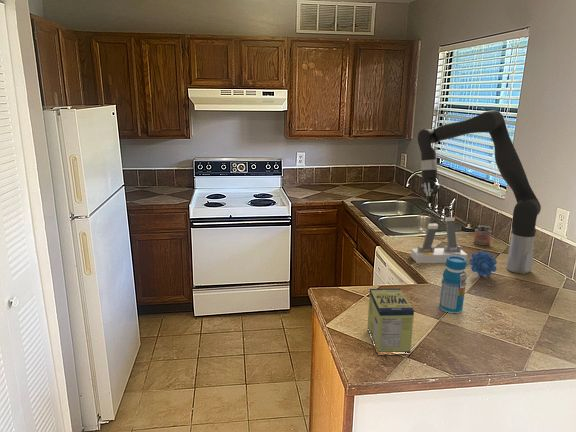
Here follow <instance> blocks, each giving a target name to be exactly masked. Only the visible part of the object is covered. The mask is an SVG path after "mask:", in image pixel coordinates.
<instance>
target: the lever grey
mask: <svg viewBox="0 0 576 432" xmlns="http://www.w3.org/2000/svg"><path fill="white" fill-rule="evenodd" d="M444 218H445V219H444V220H445V221H444V222H445V224H446V225H445V226H446V241H447V246H448V251H458V248H457V237H456V226H455V225H456V224H455V223H456V218H455V216H452V217H451V216H448V217H447V216H446V217H444Z"/></svg>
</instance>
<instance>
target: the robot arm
mask: <svg viewBox="0 0 576 432" xmlns="http://www.w3.org/2000/svg"><path fill="white" fill-rule="evenodd" d="M475 133H476V134H478V133H479V134H481V133H489V135H490V138H491V140H492V142H493V146H494V148H493V150H494V160H495V164H496V166H497V170H498V172H499V173H500V176H501V177H502V179H503V180H504V181H505V183H506V184H507V185H508V187H509V188H510V189H511V190H512V192H513V195H514V198H515V200H516V204H515V206H514V208H513V213H512V218H511V219H512V220H511V235H510V241H509V247H508V253H507V254H508V255H507V262H506V268H505V269H507V270H508V271H509V272H512V273H516V274H521V275H526V274H528V273H531V272H532V267H533V262H534V257H535V251H533V249H534V243H535V240H536V239H535V238H536V232H537V229H536V225H537V220H538V218H537V217H538V215H540V212H541V210H542V209H541V208H542V207H541V203H540V201H539V199H538V198H537V196H536V194H535V192H534V191H533V189H532V187H531V184H530V183H529V180H528V177H527V174H526V172H525V168H524V166H523V164H522V161H521V160H520V157H519V155H518V152H517V150H516V148H515V146H514V143H513V141H512V139H511V137H510V134H509V131H508V128H507V124H506V121H505V118H504V116H503V114H502V113H501V112H500V111H498V110H495V109H492V110H487V111H484V112H482V113H480V114H477V115H476V116H473V117H471V118H468V119H466V120H462V121H457V122H450V123H446V124H443V125H440V126H438V127H436V128H433V129H428V128H423V129H421V130H420V131H419V132H418V134H417V139H416V140H417V144H418V146H419V151H420V155H421V156H420V157H421V158H420V159H421V163H420V168H421V169H420V170H421V172H420V173H421V180H422V184H421V185H419V187H418V188H419V189H420V190H421V192H422V194H423V196H426V197H427V204H428V205H430V204H432V205H433V204H434V202H435V201H434V198H435V197H434V196H435V195H438V192H439V190H440V189H441V187H442V185H441V184H439V183H438V180H437V178H438V162H437V153H436V149H435V148H433V147H432V144H435V143H439V142H441V141H444V140H450V139H454V138H457V137H461V136H464V135H469V134H475Z"/></svg>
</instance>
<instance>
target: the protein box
mask: <svg viewBox="0 0 576 432" xmlns="http://www.w3.org/2000/svg"><path fill="white" fill-rule="evenodd" d="M368 299H369V300H368V315H367V329H369V331H370V334H371V336H372V339H373V341H374V344H375V346H376V349H377V351H378V352H405V353H406V352H407V353H410V354H411V348H412V338H413V327H414V326H413V325H414V317H415V315H414V314H415V309H414V308H413V306H412V305H411V303H410V301H409V300H408V299H407V297H406V295H405V294H404V292H403V291H402V289H401V288H369V297H368Z"/></svg>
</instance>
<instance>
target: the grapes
mask: <svg viewBox="0 0 576 432" xmlns="http://www.w3.org/2000/svg"><path fill="white" fill-rule="evenodd" d="M468 263H469V264H470V265H471V271H472V272H474V273H477V275H478V276H480V277H484V276H486V277H491V276H492V273H494V272H497V267H496V265H497V264H498V262H497V259H496V258H493V254H492V253H491V252H485V251H484V250H482V249H481V250H478V252H477V253H476V252H473V253H472V254H471V258H470V259H469V261H468Z"/></svg>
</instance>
